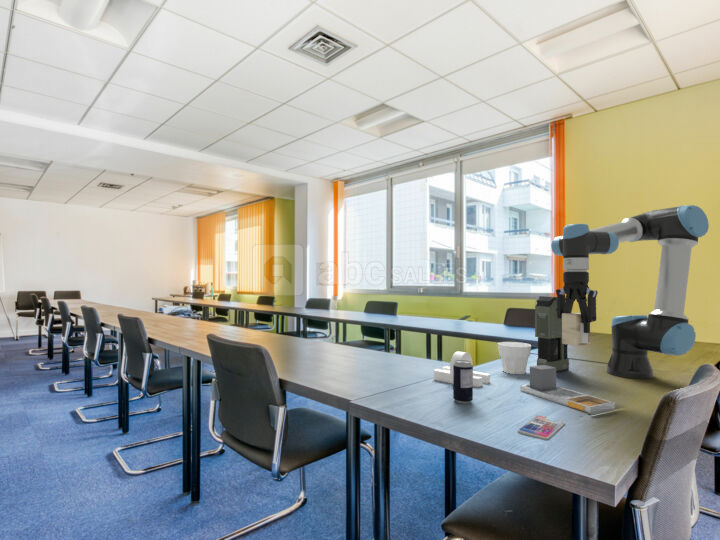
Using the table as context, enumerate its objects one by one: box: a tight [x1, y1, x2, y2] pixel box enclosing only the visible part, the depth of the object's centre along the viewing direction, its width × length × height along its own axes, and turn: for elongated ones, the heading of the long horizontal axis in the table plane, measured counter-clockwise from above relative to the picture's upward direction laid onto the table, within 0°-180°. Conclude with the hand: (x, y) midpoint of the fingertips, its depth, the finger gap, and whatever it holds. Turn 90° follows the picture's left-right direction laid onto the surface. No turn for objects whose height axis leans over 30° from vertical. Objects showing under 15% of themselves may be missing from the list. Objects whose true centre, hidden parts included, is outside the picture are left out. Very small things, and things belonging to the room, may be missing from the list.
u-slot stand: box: [433, 350, 491, 388], centre depth 146 cm, size 10×18×11 cm, turn 47°
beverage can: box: [452, 360, 474, 405], centre depth 122 cm, size 6×6×12 cm
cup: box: [497, 341, 532, 375], centre depth 161 cm, size 12×12×11 cm
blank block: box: [529, 365, 557, 391], centre depth 131 cm, size 7×5×8 cm
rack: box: [519, 383, 616, 416], centre depth 123 cm, size 11×24×2 cm, turn 26°
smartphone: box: [517, 415, 566, 441], centre depth 101 cm, size 7×1×15 cm
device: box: [534, 295, 570, 375], centre depth 163 cm, size 14×8×30 cm, turn 124°
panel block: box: [562, 312, 591, 347], centre depth 133 cm, size 7×5×10 cm
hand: (576, 341), depth 133 cm, fingers closed on panel block, 5 cm apart
